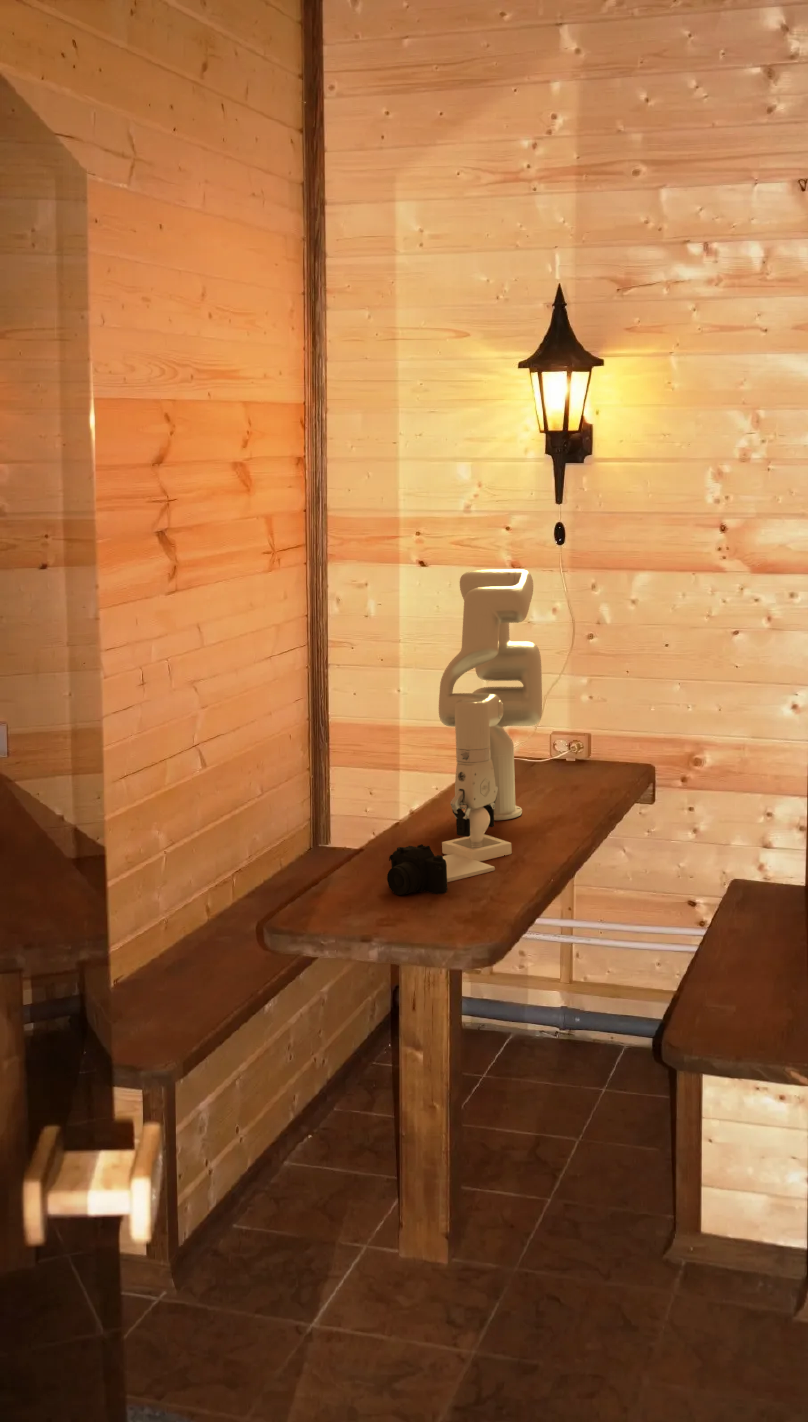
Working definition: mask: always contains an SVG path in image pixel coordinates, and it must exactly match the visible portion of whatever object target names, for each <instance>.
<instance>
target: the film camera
mask: <svg viewBox="0 0 808 1422" xmlns="http://www.w3.org/2000/svg"><path fill="white" fill-rule="evenodd" d="M388 858H389V859H388V861H389V862H390V864H391V866H390V867H391V868H390V869H389V870H388V872H387V875H386V881H387V884H388V888H389V889H390V891H392V893H394V894H395V895H397V896H403V895H404V896H405V895H408V894H412V893H422V892H426V893H430V894H433V895H442V894H443V895H444V894H446V893H448V890H449V889H448V882H447V864H446V861H445V860H444V859H443V855H439V854H437V855H435V854H434V852H433V851H432V849H431V847H430V845H424V844H419V845H417V846H413V845H408V846H405V847H403V846H399V847H397V848H396V850H394V851H393V852H392V854H390V855H389V857H388Z"/></svg>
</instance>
